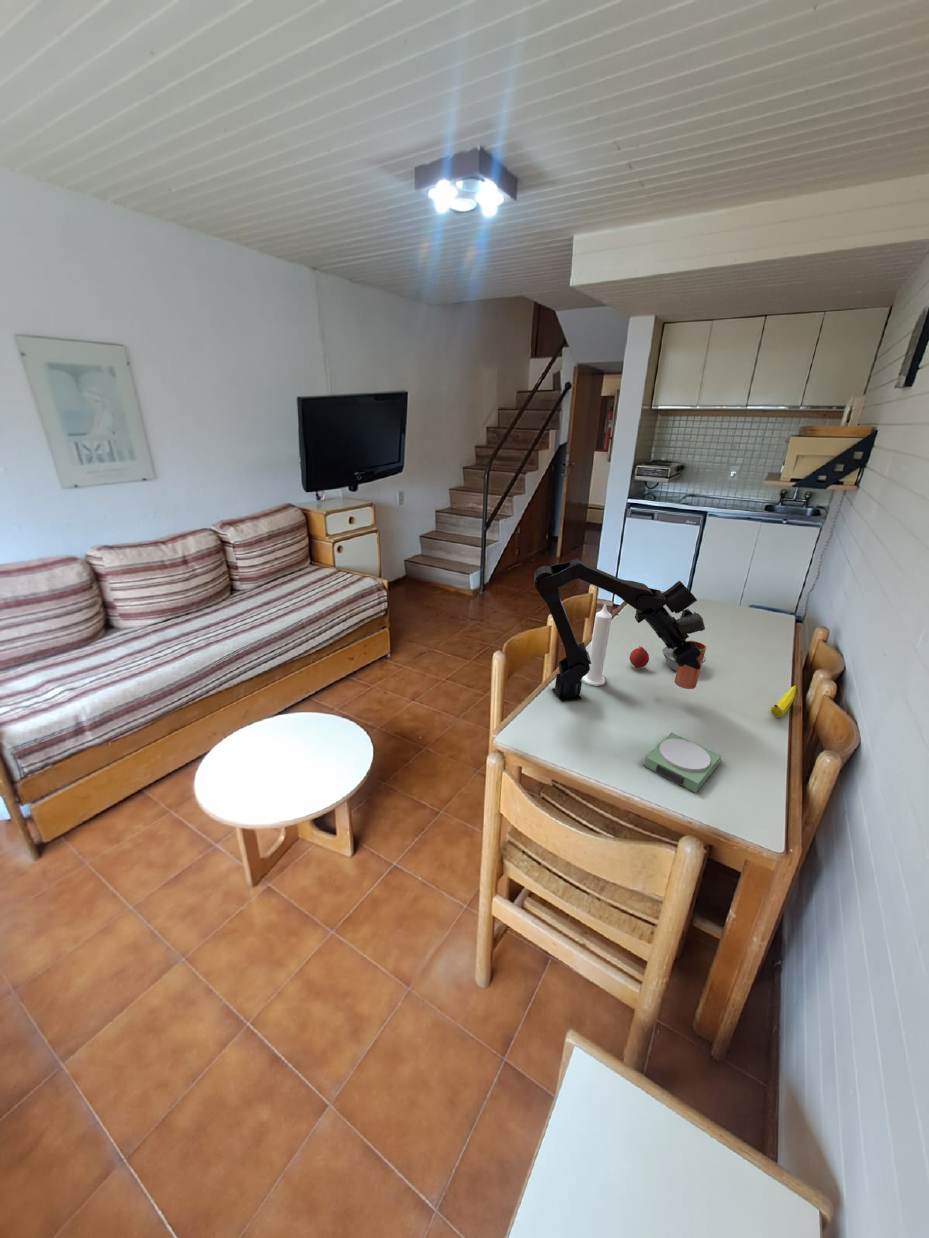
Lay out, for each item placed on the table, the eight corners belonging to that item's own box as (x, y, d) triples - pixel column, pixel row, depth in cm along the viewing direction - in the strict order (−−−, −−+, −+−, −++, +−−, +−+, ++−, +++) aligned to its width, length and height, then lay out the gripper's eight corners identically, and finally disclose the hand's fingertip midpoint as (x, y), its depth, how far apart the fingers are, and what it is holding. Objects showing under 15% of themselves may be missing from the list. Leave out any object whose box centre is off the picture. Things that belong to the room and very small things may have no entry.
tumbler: (682, 689, 133) (692, 650, 129) (670, 679, 138) (679, 641, 134) (700, 688, 135) (710, 649, 130) (687, 677, 140) (696, 639, 135)
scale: (694, 793, 106) (698, 781, 105) (642, 766, 114) (645, 755, 113) (719, 763, 116) (722, 752, 115) (669, 740, 123) (672, 729, 122)
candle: (592, 688, 146) (604, 610, 136) (576, 677, 151) (587, 601, 142) (610, 683, 149) (623, 606, 139) (594, 672, 154) (606, 598, 145)
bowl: (676, 654, 168) (679, 641, 167) (710, 670, 159) (714, 657, 157) (651, 662, 162) (654, 649, 160) (685, 680, 152) (689, 666, 150)
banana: (795, 702, 142) (802, 683, 140) (775, 727, 130) (782, 707, 128) (784, 698, 144) (791, 679, 142) (763, 723, 132) (770, 702, 130)
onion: (644, 664, 161) (648, 642, 158) (648, 673, 155) (653, 650, 152) (626, 663, 161) (630, 641, 158) (629, 671, 156) (634, 649, 153)
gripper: (701, 618, 119) (736, 662, 123) (678, 592, 136) (710, 632, 140) (661, 644, 123) (696, 687, 126) (644, 616, 140) (675, 654, 143)
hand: (695, 663), depth 134 cm, fingers closed on tumbler, 5 cm apart
